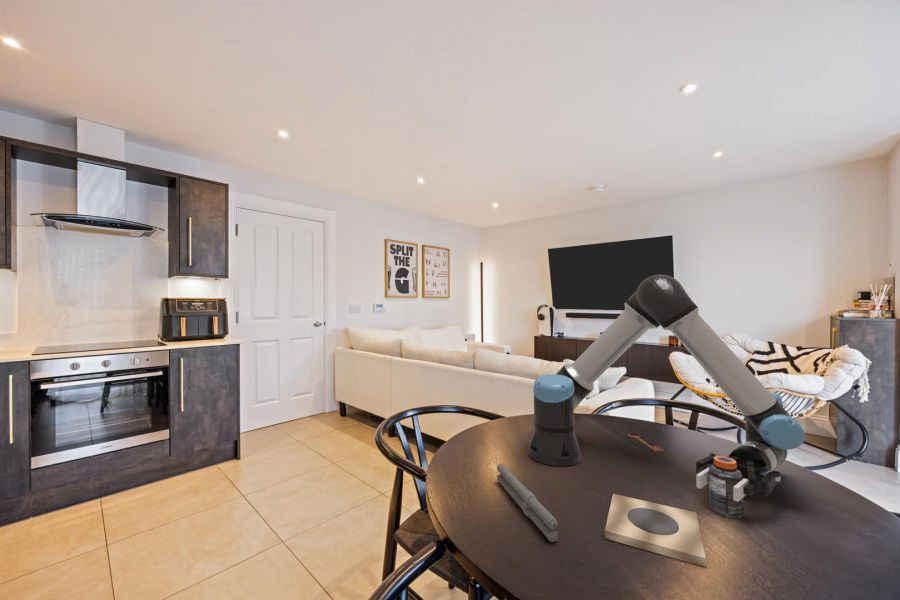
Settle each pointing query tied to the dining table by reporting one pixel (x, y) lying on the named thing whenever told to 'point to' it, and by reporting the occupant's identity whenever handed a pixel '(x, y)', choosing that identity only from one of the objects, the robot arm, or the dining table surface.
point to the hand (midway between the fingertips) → (716, 487)
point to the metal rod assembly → (528, 503)
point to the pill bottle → (724, 487)
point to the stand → (655, 529)
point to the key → (655, 448)
